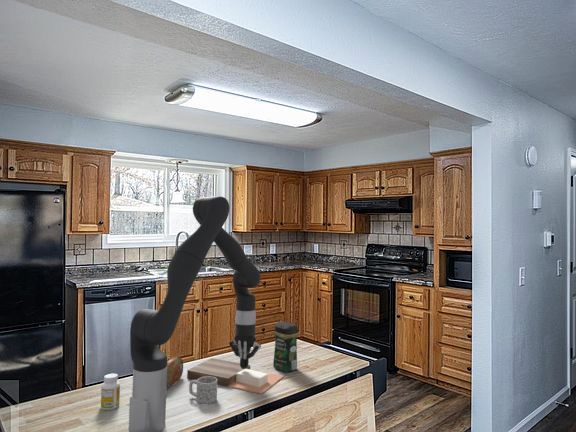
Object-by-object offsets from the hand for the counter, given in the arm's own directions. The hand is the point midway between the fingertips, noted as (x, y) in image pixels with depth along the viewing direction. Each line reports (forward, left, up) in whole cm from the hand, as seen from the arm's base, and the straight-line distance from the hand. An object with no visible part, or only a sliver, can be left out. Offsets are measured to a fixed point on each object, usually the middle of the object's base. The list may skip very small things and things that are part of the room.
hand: (244, 368), depth 160 cm
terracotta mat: (+1, -5, -4) cm, 7 cm away
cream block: (-1, -4, -4) cm, 6 cm away
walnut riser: (0, +11, -4) cm, 12 cm away
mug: (-21, +4, -5) cm, 22 cm away
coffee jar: (+19, -8, -5) cm, 21 cm away
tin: (-15, +22, -5) cm, 27 cm away
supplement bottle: (-39, +26, -5) cm, 47 cm away
